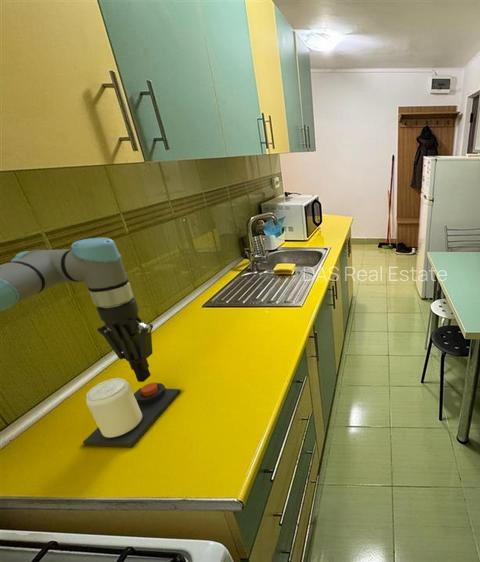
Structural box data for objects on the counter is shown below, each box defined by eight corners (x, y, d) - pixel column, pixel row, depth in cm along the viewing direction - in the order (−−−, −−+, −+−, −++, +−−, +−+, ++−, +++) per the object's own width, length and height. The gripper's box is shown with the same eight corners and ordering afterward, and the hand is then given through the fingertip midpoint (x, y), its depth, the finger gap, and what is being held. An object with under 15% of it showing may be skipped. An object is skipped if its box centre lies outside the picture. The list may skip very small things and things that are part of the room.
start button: (152, 396, 83) (150, 392, 83) (139, 396, 83) (137, 391, 83) (161, 387, 87) (159, 382, 86) (149, 387, 87) (147, 382, 86)
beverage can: (134, 408, 81) (119, 372, 77) (149, 421, 77) (133, 384, 73) (97, 429, 75) (78, 392, 70) (110, 445, 71) (91, 406, 66)
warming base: (132, 446, 72) (128, 437, 71) (84, 445, 73) (79, 436, 71) (181, 391, 89) (178, 383, 88) (141, 390, 89) (138, 382, 88)
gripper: (152, 295, 77) (176, 370, 86) (103, 294, 78) (132, 368, 87) (129, 309, 70) (157, 388, 79) (75, 308, 71) (110, 387, 80)
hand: (144, 378), depth 83 cm, fingers closed
